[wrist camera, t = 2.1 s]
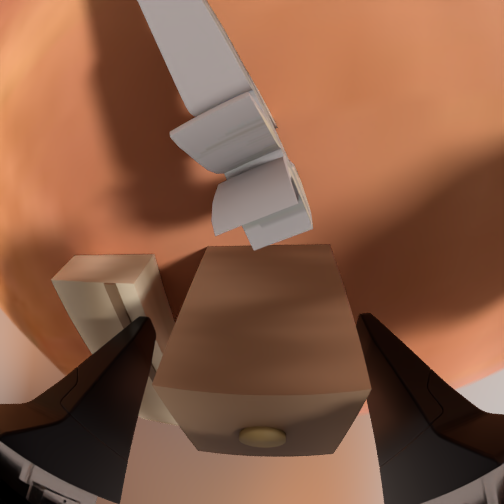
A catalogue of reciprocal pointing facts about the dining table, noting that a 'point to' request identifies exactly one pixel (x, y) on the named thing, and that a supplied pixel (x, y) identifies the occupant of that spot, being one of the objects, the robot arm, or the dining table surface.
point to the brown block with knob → (265, 354)
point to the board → (118, 308)
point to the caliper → (228, 125)
